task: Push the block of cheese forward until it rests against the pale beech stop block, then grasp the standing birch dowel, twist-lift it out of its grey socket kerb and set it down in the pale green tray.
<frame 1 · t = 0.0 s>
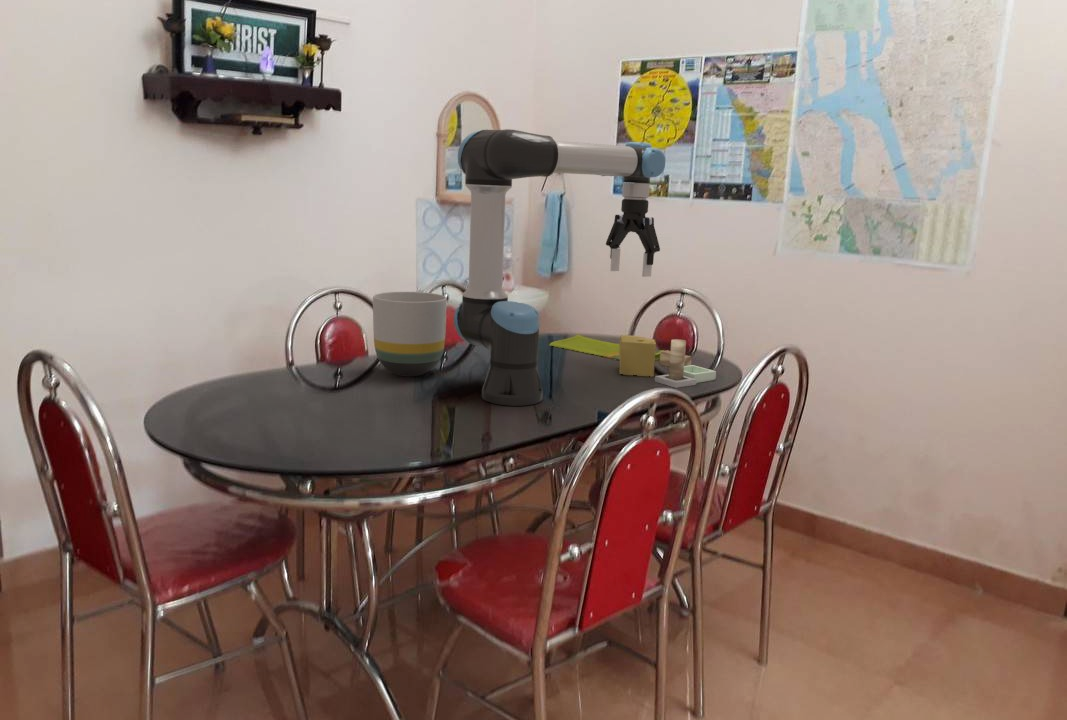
hand: (630, 273, 241), 28 cm above the table, fingers open, 13 cm apart
dowel: (677, 362, 230), in the socket kerb
socket kerb: (675, 383, 231), on the table
tray: (692, 378, 238), on the table
dish towel: (605, 354, 270), on the table
stop block: (674, 366, 252), on the table
planter: (409, 374, 228), on the table
cheese: (635, 373, 243), on the table
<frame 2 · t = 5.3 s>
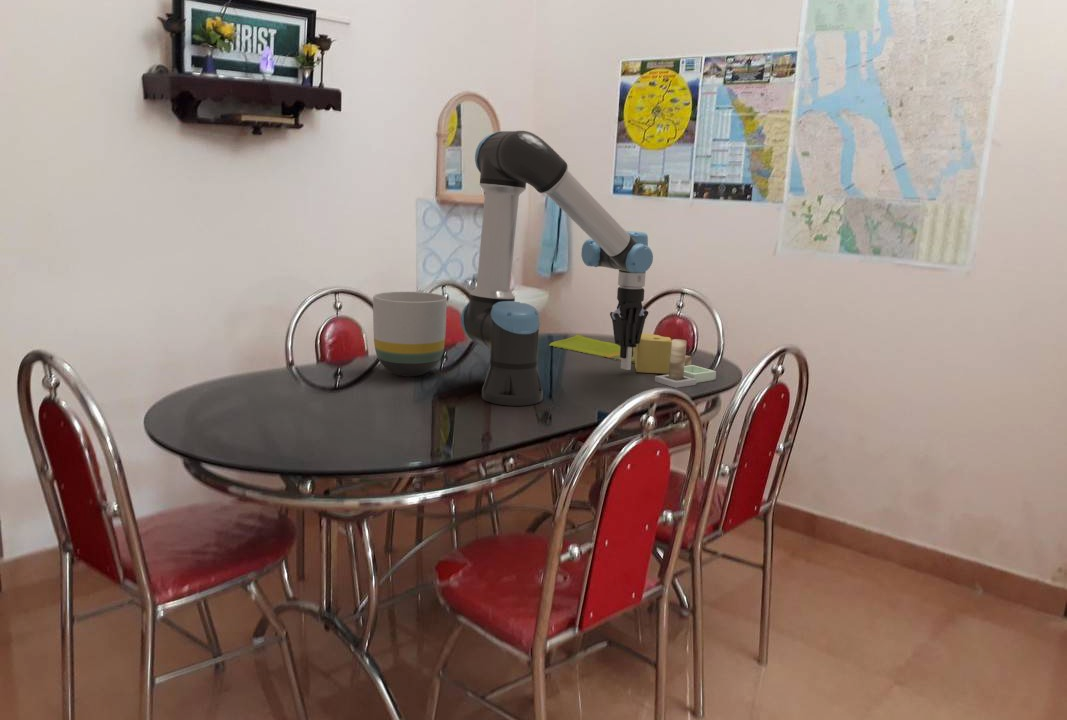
hand: (625, 368, 240), 1 cm above the table, fingers closed
cheese: (651, 370, 246), on the table, touching hand
everything else where it was.
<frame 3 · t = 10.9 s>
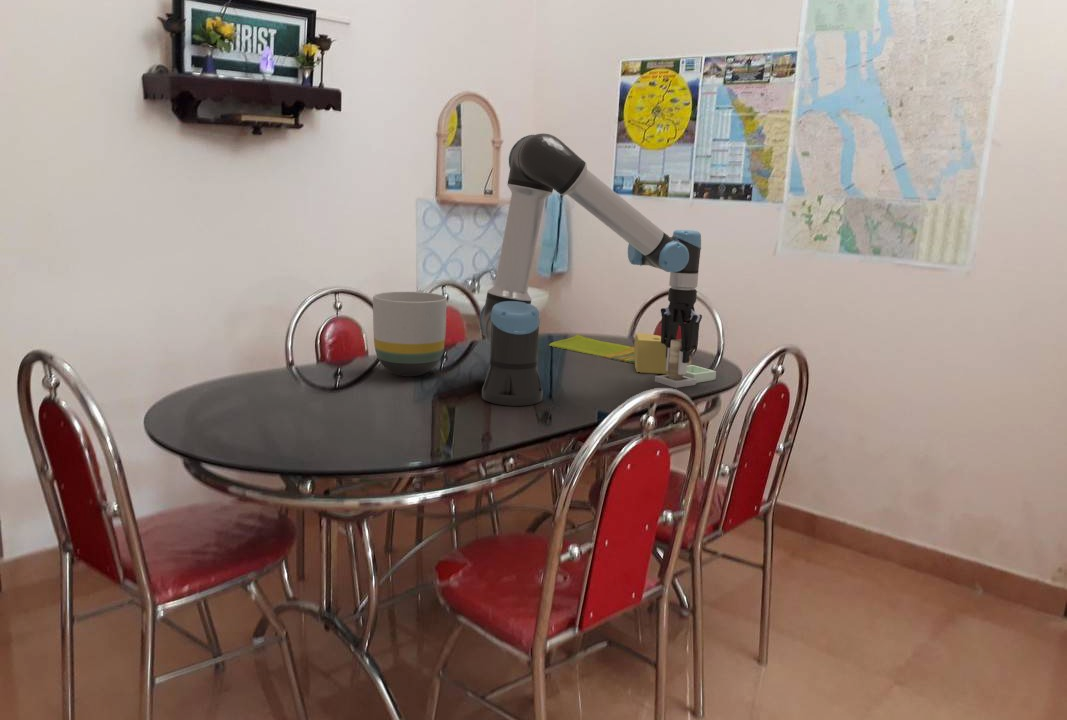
hand: (676, 372, 231), 3 cm above the table, fingers closed on dowel, 4 cm apart
dowel: (676, 361, 230), in the socket kerb, touching gripper
cheese: (651, 370, 247), on the table
everything else where it was.
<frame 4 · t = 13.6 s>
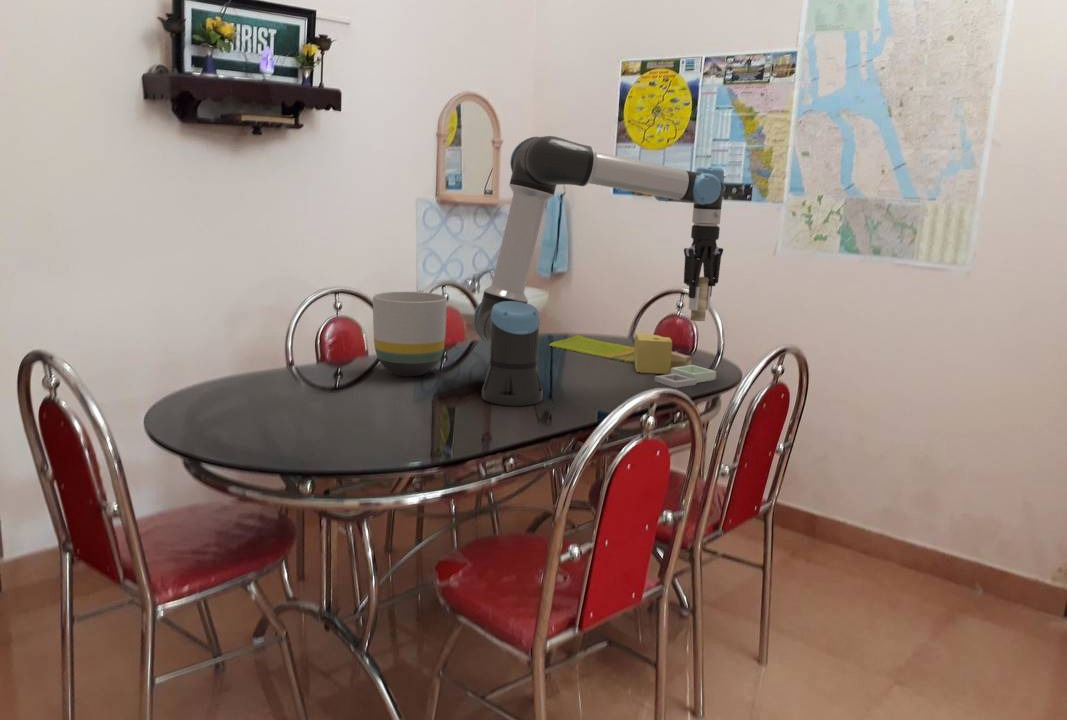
hand: (698, 309, 234), 20 cm above the table, fingers closed on dowel, 4 cm apart
dowel: (699, 298, 233), point 23 cm above the table, touching gripper
everything else where it was.
when the fingers open (5 cm above the table, at t = 16.5 s): dowel stays where it is, resting on tray.
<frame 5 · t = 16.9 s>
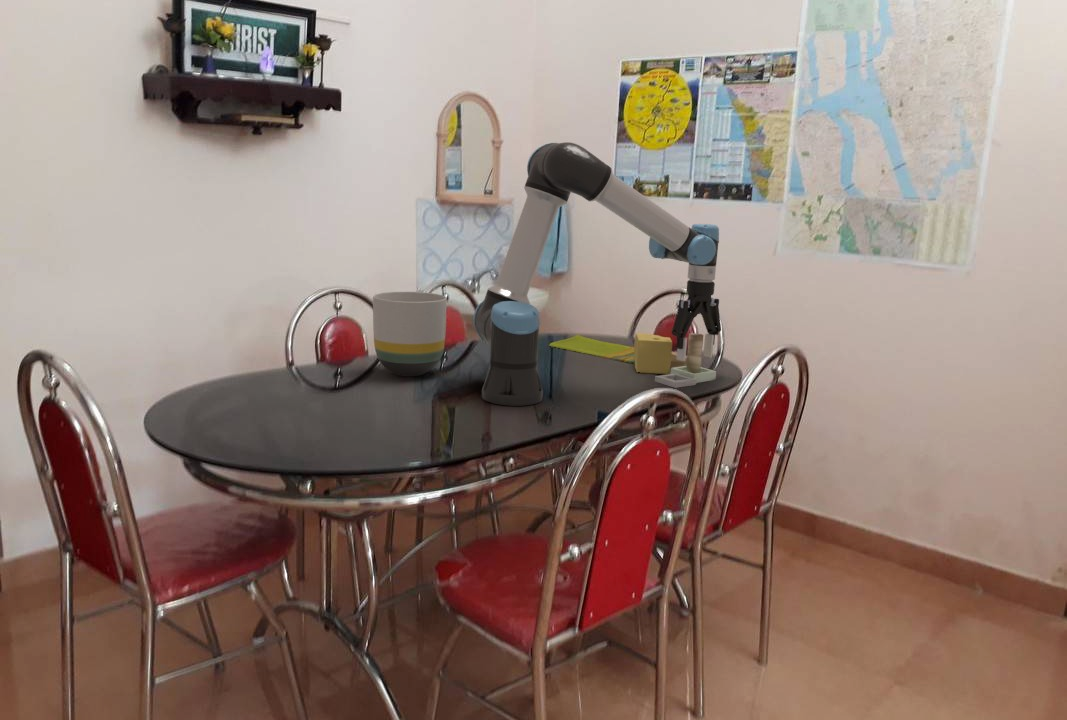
hand: (694, 358, 237), 6 cm above the table, fingers open, 10 cm apart
dowel: (694, 355, 237), in the tray, point 7 cm above the table
everything else where it was.
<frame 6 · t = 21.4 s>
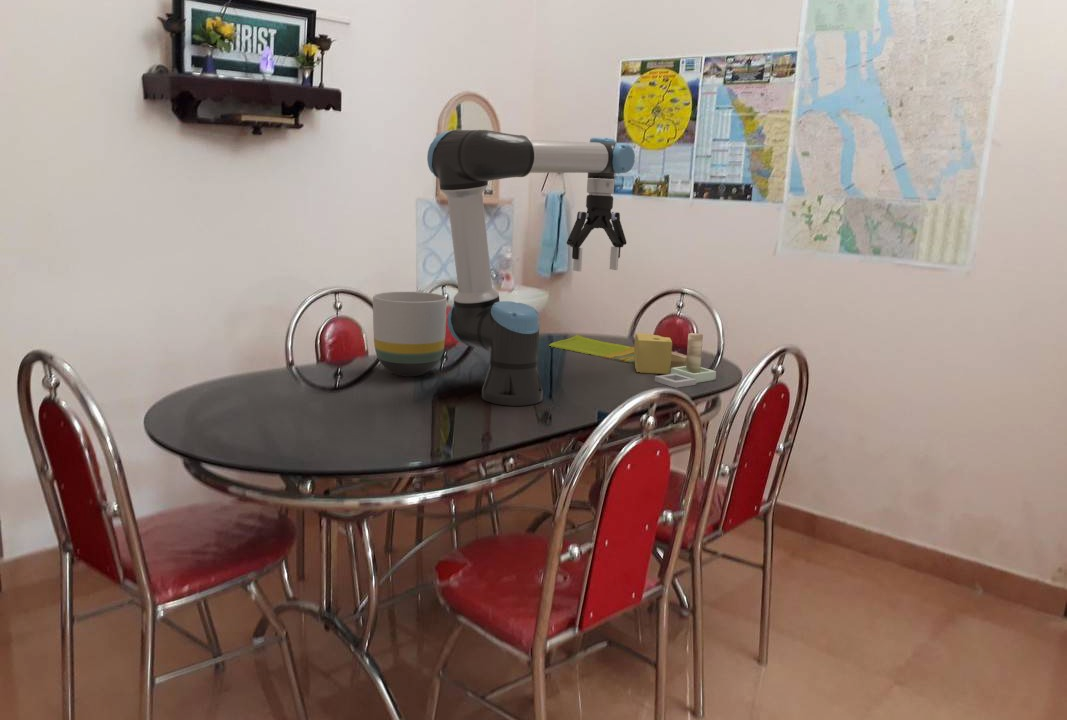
hand: (595, 270, 239), 29 cm above the table, fingers open, 13 cm apart
nothing on the table moved.
at the end: cheese inside the target area (1.9 cm from its centre), on the table; dowel 0.1 cm off-centre on the tray, point 6.6 cm above the tray's base; the gripper is holding nothing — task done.
